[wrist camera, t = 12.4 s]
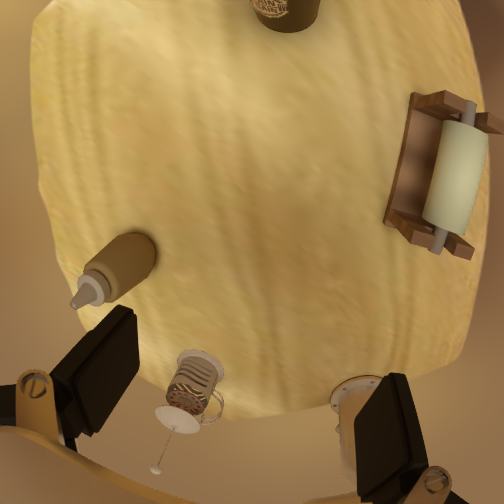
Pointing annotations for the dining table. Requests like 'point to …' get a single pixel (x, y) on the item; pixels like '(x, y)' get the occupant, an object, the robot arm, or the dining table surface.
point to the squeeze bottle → (115, 270)
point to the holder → (427, 167)
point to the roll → (455, 177)
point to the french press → (189, 394)
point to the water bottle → (286, 14)
